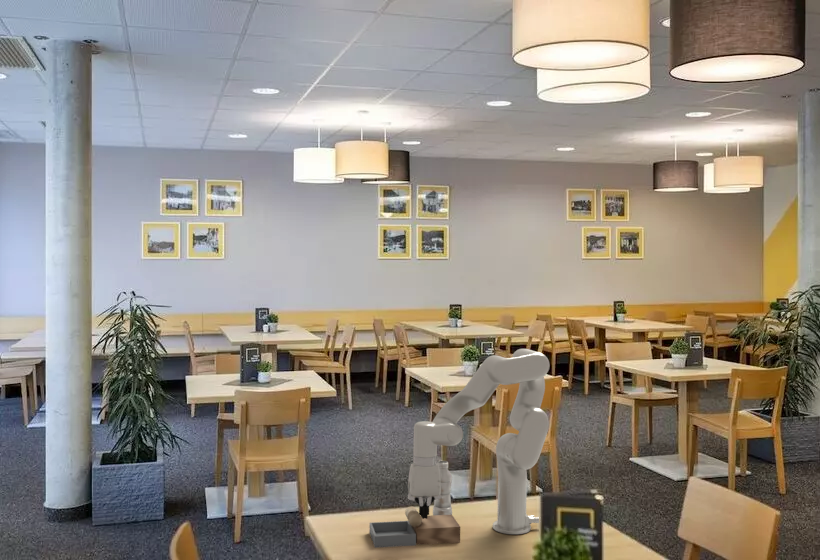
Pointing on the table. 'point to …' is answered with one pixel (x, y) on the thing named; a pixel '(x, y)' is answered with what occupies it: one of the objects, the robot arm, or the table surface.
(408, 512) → the maple roller
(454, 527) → the flat wooden case
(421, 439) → the robot arm
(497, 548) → the table surface
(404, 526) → the box
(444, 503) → the plastic bottle
